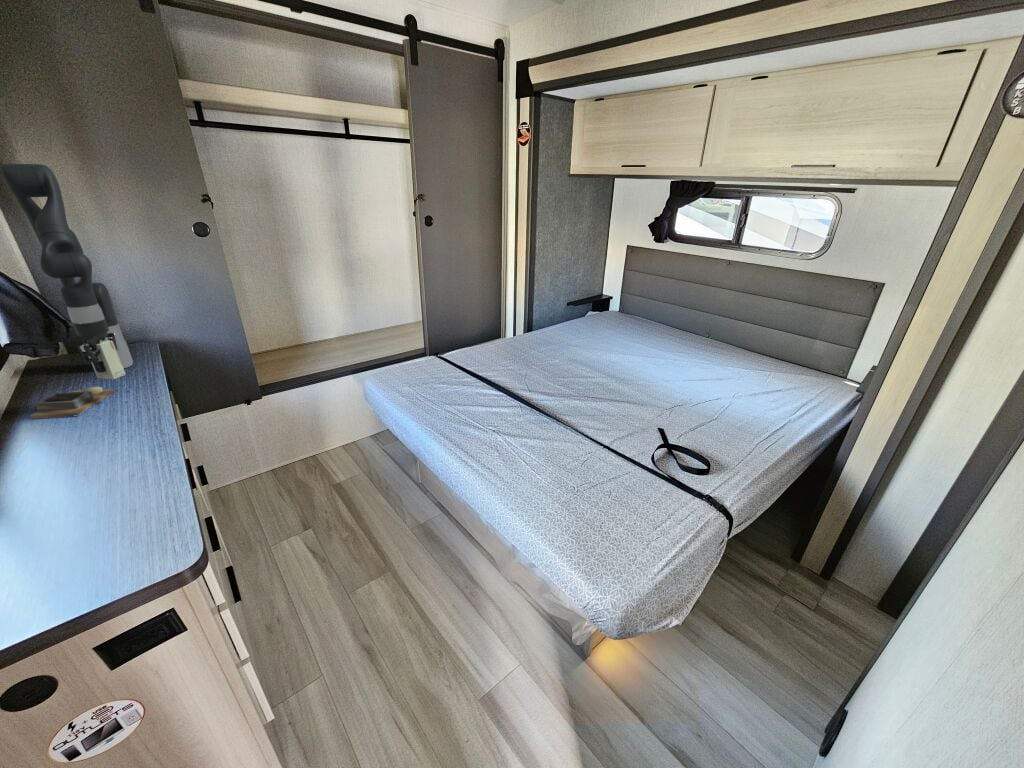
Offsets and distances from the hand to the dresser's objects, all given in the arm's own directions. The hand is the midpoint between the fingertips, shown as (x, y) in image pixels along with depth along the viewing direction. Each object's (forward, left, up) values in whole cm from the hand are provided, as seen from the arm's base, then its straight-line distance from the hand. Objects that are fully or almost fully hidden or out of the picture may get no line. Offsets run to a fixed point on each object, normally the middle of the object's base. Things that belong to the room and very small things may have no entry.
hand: (107, 368), depth 137 cm
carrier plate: (+2, -11, -12) cm, 16 cm away
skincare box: (0, 0, -3) cm, 3 cm away
